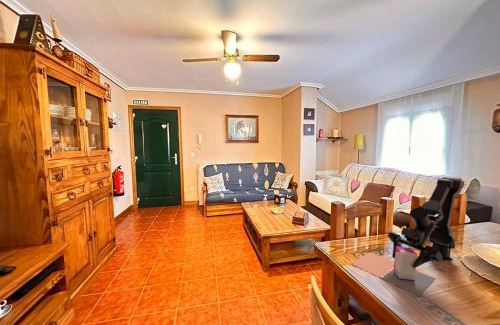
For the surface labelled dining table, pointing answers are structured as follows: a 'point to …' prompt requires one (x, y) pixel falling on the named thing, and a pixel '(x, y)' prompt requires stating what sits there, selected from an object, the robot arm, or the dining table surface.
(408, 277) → the supplement box
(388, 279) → the ticket mat
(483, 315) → the dining table surface
